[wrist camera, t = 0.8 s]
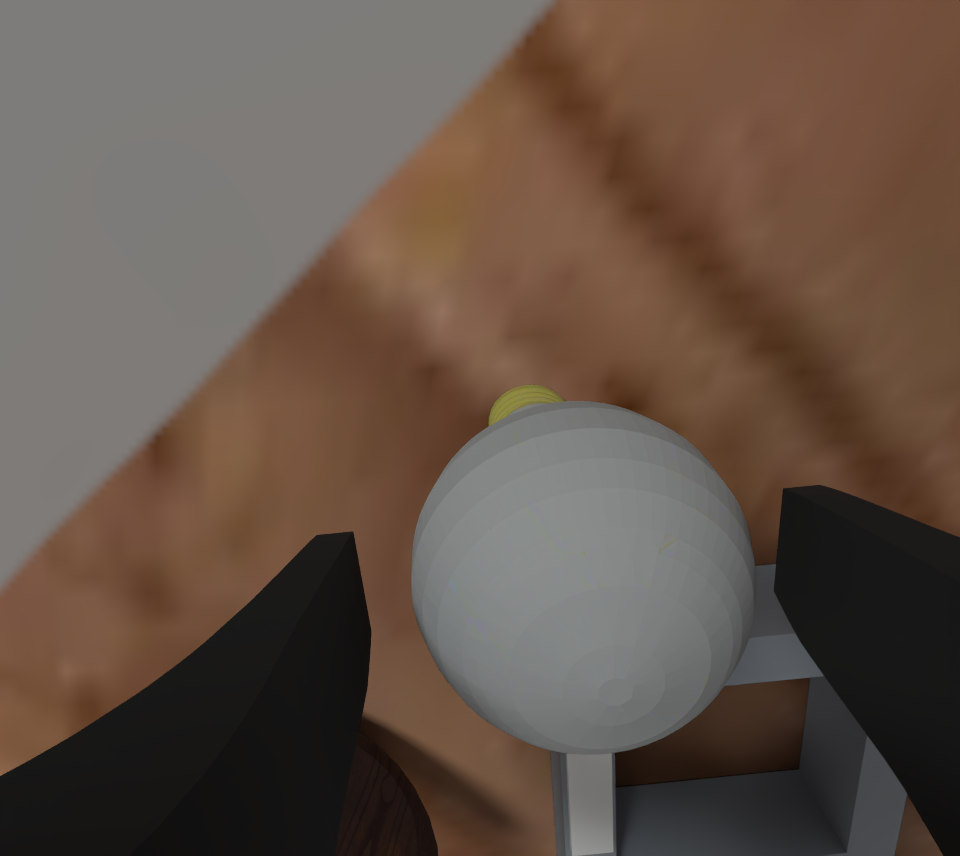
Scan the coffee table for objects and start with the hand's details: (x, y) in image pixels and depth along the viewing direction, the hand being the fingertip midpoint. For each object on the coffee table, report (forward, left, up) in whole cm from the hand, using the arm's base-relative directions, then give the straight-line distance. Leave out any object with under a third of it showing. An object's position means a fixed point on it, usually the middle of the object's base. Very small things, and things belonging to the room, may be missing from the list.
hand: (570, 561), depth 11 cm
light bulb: (0, 0, -7) cm, 7 cm away
